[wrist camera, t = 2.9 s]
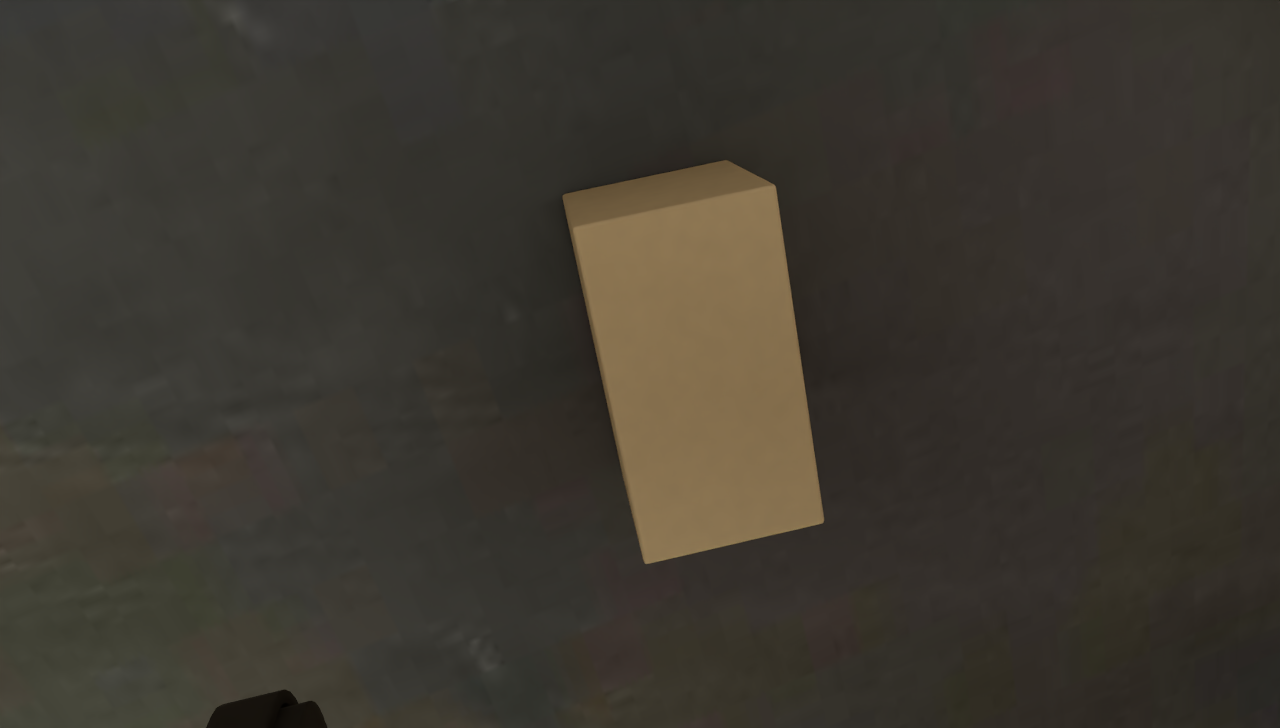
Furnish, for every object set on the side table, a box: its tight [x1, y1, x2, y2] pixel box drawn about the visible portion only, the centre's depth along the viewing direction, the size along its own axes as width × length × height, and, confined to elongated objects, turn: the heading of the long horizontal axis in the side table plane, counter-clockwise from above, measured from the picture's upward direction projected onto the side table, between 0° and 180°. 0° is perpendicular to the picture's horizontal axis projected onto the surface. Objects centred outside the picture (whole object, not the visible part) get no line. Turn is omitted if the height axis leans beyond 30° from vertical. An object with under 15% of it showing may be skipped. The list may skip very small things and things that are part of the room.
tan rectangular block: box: [562, 160, 824, 564], centre depth 19 cm, size 6×4×4 cm, turn 11°
